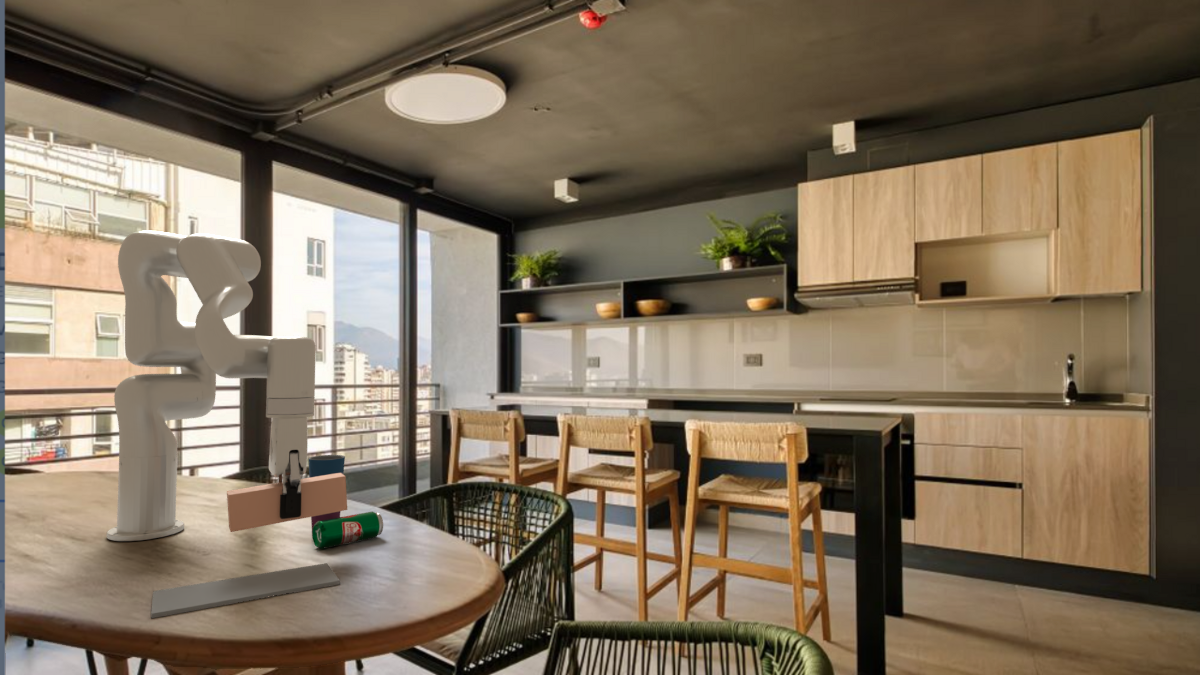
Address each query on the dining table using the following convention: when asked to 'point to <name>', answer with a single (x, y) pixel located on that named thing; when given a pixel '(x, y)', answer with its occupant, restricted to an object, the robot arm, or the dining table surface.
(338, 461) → the cup
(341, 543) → the soda can
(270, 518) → the peach wooden plank
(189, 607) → the mat
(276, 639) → the dining table surface
